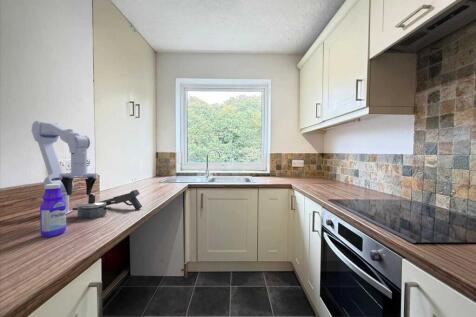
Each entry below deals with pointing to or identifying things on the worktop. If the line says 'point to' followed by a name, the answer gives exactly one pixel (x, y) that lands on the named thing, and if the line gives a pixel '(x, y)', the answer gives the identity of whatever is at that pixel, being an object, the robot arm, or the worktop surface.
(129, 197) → the handgun
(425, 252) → the worktop surface
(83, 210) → the pot
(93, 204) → the lid
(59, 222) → the bottle
